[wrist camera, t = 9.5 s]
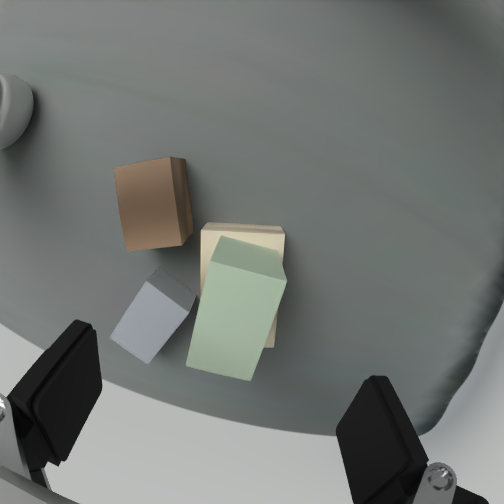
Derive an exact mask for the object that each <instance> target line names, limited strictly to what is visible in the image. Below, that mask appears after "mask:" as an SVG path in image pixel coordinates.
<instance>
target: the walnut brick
mask: <svg viewBox="0 0 504 504" xmlns="http://www.w3.org/2000/svg"><path fill="white" fill-rule="evenodd" d="M114 176H115V184H116V191H117V198H118V205H119V211H120V217H121V223H122V229H123V234H124V240H125V245H126V250H127V252H128V251H137V250H146V249H155V248H164V247H173V246H182V245H183V244H184V242H185V241H186V240H187V239H188V238H189V237H190V235H191V234H192V233H193V232H194V226H193V218H192V211H191V204H190V196H189V188H188V180H187V171H186V162H185V159H182V158H175V157H166V158H161V159H155V160H150V161H145V162H140V163H135V164H130V165H125V166H121V167H116V168H114Z"/></svg>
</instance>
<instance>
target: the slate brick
mask: <svg viewBox="0 0 504 504" xmlns="http://www.w3.org/2000/svg"><path fill="white" fill-rule="evenodd" d="M195 298H196V295H195V294H194V293H193V292H191V291H190V290H188V289H187V288H186V287H184V286H183V285H182V284H180V283H179V282H178V281H176V280H175V279H174V278H172V277H171V276H170V275H168V274H167V273H166V272H164V271H163V270H162V269H160V268H159V267H158V268H157V269H156V270H155V272H154V273H153V274H152V275H151V276H150V277H149V278H148V279H147V281H146V282H145V284H144V285H143V287H142V288H141V290H140V291H139V293H138V294H137V296H136V297H135V299H134V300H133V302H132V303H131V305H130V306H129V308H128V309H127V311H126V312H125V314H124V316H123V317H122V319H121V320H120V322H119V323H118V325H117V327H116V328H115V330H114V331H113V333H112V335H111V336H110V338H111V339H113V340H114V341H115V342H117V343H118V344H119V345H121V346H122V347H123V348H125V349H126V350H127V351H129V352H130V353H132V354H133V355H134V356H136V357H137V358H139V359H140V360H142V361H143V362H144V363H146V364H147V365H148V363H149V362H150V361H151V360H152V358H153V357H154V356H155V355H156V353H157V352H158V351H159V350H160V349H161V347H162V346H163V345H164V344H165V342H166V341H167V340H168V339H169V337H170V336H171V335H172V334H173V332H174V331H175V330H176V329H177V327H178V326H179V325H180V324H181V323H182V321H183V320H184V319H185V318H186V316H187V315H188V314H189V313H190V310H191V308H192V305H193V303H194V300H195Z"/></svg>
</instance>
